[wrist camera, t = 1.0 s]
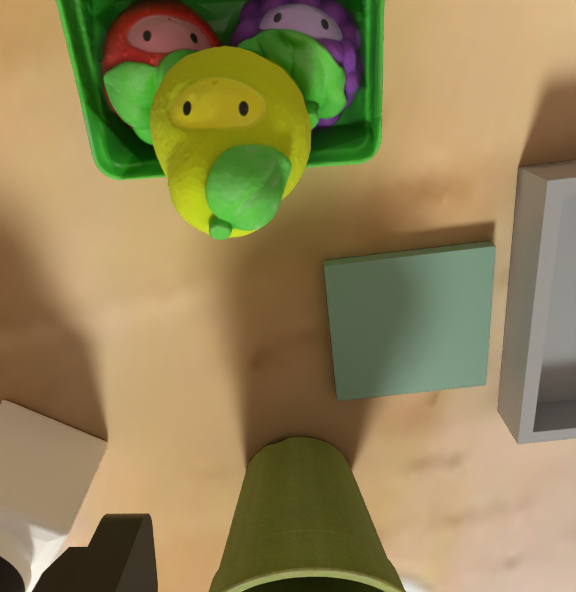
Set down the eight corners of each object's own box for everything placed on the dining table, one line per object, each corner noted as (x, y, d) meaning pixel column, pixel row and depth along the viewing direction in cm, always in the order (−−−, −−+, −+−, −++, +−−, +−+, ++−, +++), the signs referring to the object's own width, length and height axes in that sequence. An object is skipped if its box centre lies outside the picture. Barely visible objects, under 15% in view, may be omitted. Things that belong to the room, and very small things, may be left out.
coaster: (323, 260, 27) (324, 266, 26) (489, 240, 26) (495, 246, 26) (335, 392, 31) (337, 401, 30) (480, 377, 30) (485, 385, 30)
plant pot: (381, 528, 36) (420, 711, 26) (221, 534, 36) (199, 719, 26) (391, 401, 31) (444, 568, 21) (204, 407, 31) (167, 577, 21)
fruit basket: (363, -46, 21) (443, -141, 11) (362, 167, 25) (420, 246, 14) (95, -26, 21) (-80, -100, 11) (137, 182, 25) (38, 271, 15)
